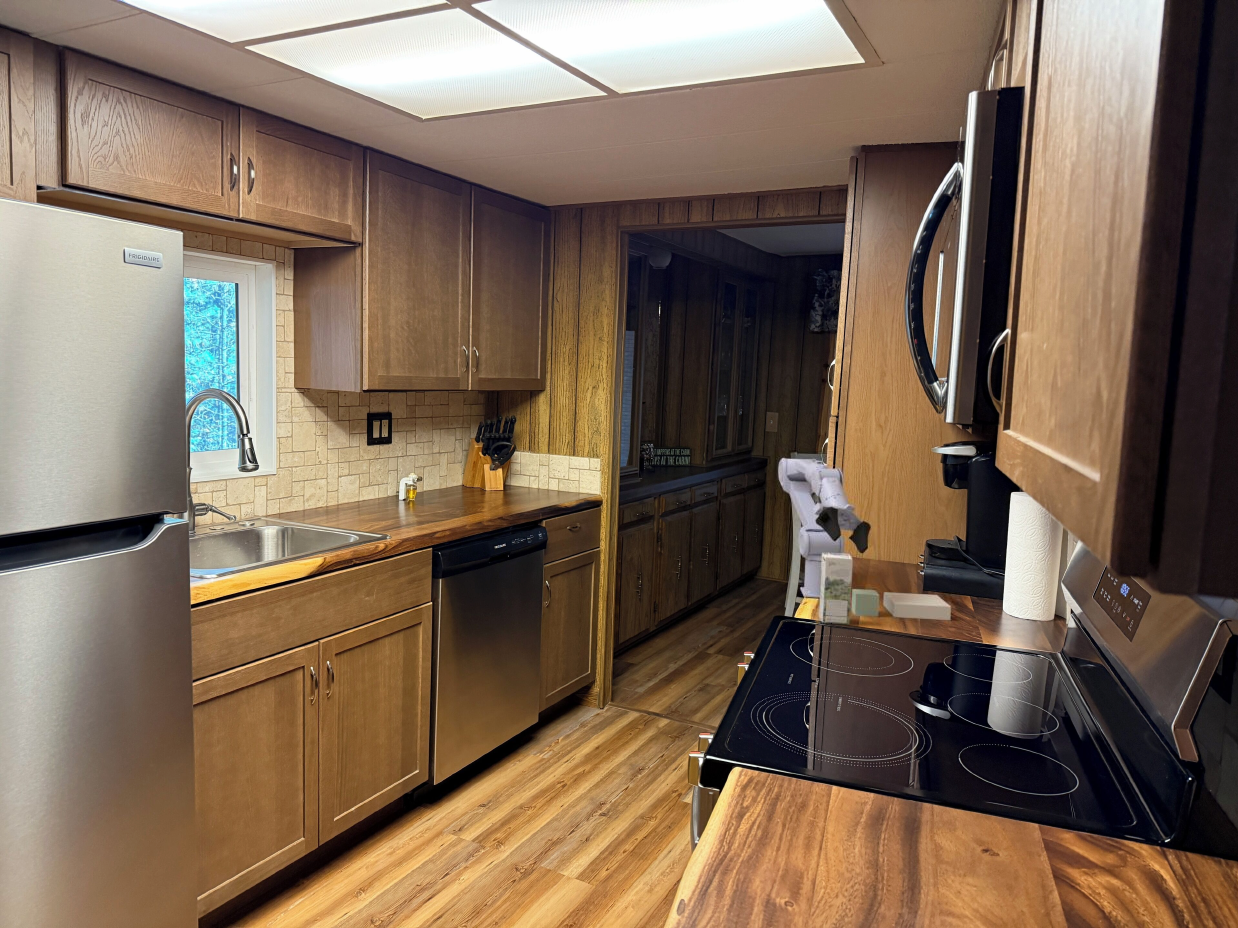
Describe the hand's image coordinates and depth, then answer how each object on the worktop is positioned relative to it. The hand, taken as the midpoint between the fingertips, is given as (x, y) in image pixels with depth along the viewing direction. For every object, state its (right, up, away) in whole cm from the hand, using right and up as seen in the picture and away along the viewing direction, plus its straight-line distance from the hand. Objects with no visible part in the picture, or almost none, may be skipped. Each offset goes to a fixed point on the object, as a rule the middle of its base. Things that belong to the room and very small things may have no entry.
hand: (850, 544), depth 187 cm
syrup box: (-5, -16, -4) cm, 17 cm away
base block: (+17, -16, +7) cm, 24 cm away
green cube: (+4, -16, +4) cm, 17 cm away
